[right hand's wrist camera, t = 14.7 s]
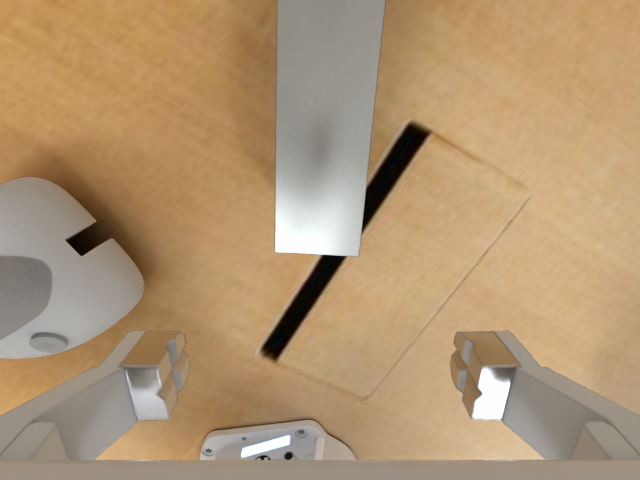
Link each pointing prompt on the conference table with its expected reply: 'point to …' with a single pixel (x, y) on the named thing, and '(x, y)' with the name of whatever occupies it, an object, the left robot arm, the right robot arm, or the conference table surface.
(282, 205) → the box
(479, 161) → the conference table surface
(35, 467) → the right robot arm
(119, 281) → the grey slotted rounded block
